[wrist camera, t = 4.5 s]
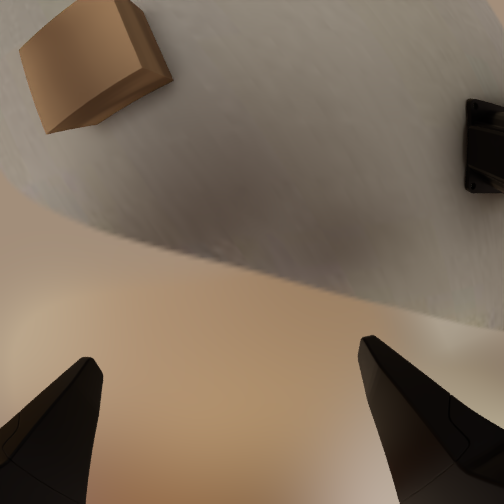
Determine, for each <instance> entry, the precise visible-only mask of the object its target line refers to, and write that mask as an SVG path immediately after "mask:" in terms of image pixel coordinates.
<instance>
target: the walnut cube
mask: <svg viewBox="0 0 504 504" xmlns="http://www.w3.org/2000/svg"><path fill="white" fill-rule="evenodd" d="M19 53H20V57H21V60H22V64H23V68H24V71H25V75H26V78H27V81H28V85H29V88H30V91H31V94H32V97H33V100H34V103H35V106H36V109H37V111H38V114H39V117H40V120H41V122H42V125H43V127H44V130H45V132H46V134H51V133H55V132H60V131H65V130H69V129H75V128H80V127H86V126H91V125H97V124H99V123H100V122H102V121H103V120H105V119H106V118H108V117H109V116H111V115H113V114H114V113H116V112H117V111H119V110H121V109H122V108H124V107H126V106H127V105H129V104H131V103H132V102H134V101H136V100H138V99H139V98H141V97H143V96H145V95H147V94H148V93H150V92H152V91H154V90H156V89H158V88H160V87H162V86H164V85H166V84H168V83H170V82H172V81H174V80H173V78H172V76H171V73H170V71H169V69H168V67H167V64H166V62H165V60H164V58H163V55H162V53H161V51H160V49H159V46H158V44H157V42H156V40H155V37H154V35H153V33H152V31H151V28H150V26H149V24H148V22H147V19H146V17H145V15H144V13H143V11H142V10H141V9H140V8H138V7H137V6H136V5H135V4H134V3H133V2H131V1H130V0H77V1H75V2H74V3H73V4H71V5H70V6H69V7H67V8H66V9H65V10H63V11H62V12H61V13H60V14H58V15H57V16H56V17H55V18H53V19H52V20H51V21H50V22H49V23H47V24H46V25H45V26H44V27H43V28H42V29H41V30H39V31H38V32H37V33H36V34H35V35H34V36H33V37H32V38H31V39H30V40H29V41H28V42H27V43H25V44H24V45H23V46H22V47H21V48H20V49H19Z"/></svg>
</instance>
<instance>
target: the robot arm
mask: <svg viewBox="0 0 504 504" xmlns="http://www.w3.org/2000/svg"><path fill="white" fill-rule="evenodd" d="M473 104H474V107H473ZM467 116H468V147H467V168H466V181H465V188H466V190H467V191H468V192H470V193H504V107H502V106H499V105H495V104H492V103H488V102H485V101H481V100H477V99H469V100H468V102H467ZM471 184H472V187H471ZM358 362H359V366H360V370H361V375H362V379H363V383H364V388H365V392H366V397H367V401H368V404H369V407H370V410H371V413H372V416H373V419H374V421H375V425H376V428H377V430H378V434H379V436H380V440H381V442H382V446H383V448H384V452H385V455H386V458H387V462H388V465H389V468H390V471H391V474H392V478H393V482H394V485H395V489H396V492H397V496H398V499H399V502H400V504H504V429H502V428H500V427H499V426H497V425H496V424H494V423H492V422H490V421H489V420H487V419H485V418H484V417H482V416H481V415H479V414H478V413H476V412H474V411H473V410H471V409H470V408H468V407H467V406H466V405H464V404H463V403H462V402H460V401H459V400H458V399H456V398H455V397H454V396H453V395H450V393H449V392H447V391H446V390H445V389H443V388H442V387H441V386H439V385H438V384H437V383H436V382H434V381H433V380H432V379H431V378H429V377H428V376H427V375H425V374H424V373H423V372H421V371H420V370H419V369H418V368H416V367H415V366H414V365H412V364H411V363H410V362H409V361H407V360H406V359H404V358H403V357H402V356H401V355H399V354H398V353H397V352H395V351H394V350H393V349H391V348H390V347H389V346H388V345H386V344H385V343H384V342H382V341H381V340H380V339H379V338H377V337H376V336H374V335H370V336H366V337H362V339H361V341H360V346H359V352H358ZM102 384H103V373H102V371H101V370H100V368H99V366H98V365H97V363H96V362H95V360H94V359H93V358H91V357H82V358H80V359H79V360H78V361H77V362H76V363H74V364H73V365H72V366H71V367H70V368H69V369H68V370H66V371H65V372H64V373H63V374H62V375H61V376H59V377H58V378H57V379H56V380H55V381H54V382H52V383H51V384H50V385H49V386H48V387H47V388H46V389H45V390H43V391H42V392H41V393H40V394H39V395H38V396H37V397H35V398H34V400H32V401H31V402H30V403H29V404H28V405H26V406H25V407H24V408H23V409H22V410H21V411H20V412H19V413H18V414H16V415H15V416H14V417H13V418H12V419H11V420H10V421H9V422H7V423H6V424H5V425H4V426H3V427H1V428H0V504H86V494H87V485H88V476H89V469H90V462H91V455H92V448H93V443H94V438H95V432H96V427H97V422H98V417H99V410H100V401H101V392H102Z"/></svg>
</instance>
